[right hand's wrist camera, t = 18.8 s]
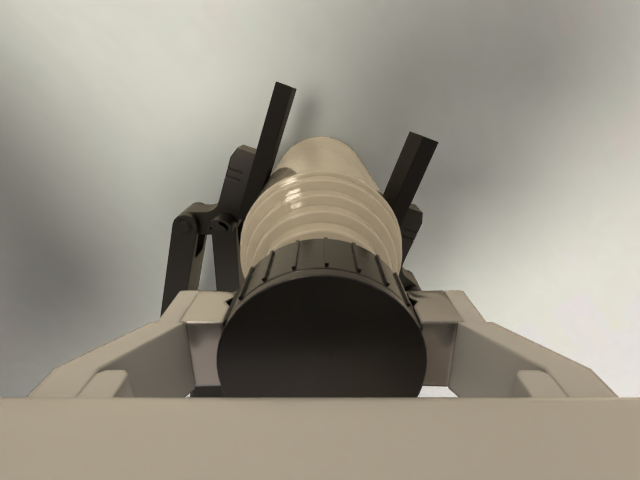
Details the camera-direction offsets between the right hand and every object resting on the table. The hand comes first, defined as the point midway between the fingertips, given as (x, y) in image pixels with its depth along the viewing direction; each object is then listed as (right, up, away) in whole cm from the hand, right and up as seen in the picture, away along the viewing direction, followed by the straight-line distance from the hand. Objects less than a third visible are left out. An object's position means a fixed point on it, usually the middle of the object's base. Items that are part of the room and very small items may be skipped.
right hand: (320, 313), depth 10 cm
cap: (0, -1, -2) cm, 2 cm away
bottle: (0, +6, +15) cm, 16 cm away
